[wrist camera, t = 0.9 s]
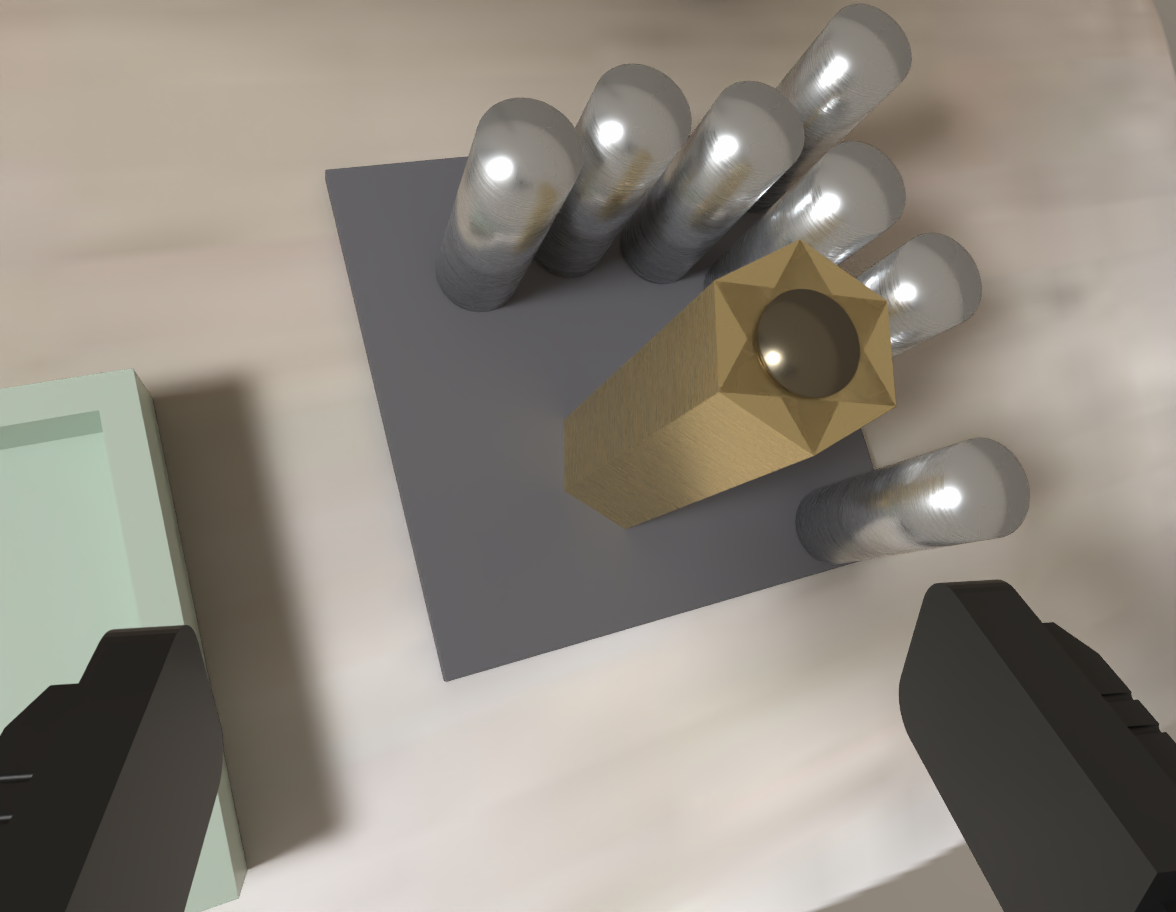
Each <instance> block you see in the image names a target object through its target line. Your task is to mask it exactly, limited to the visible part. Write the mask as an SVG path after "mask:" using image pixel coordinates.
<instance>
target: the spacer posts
mask: <svg viewBox="0 0 1176 912" xmlns="http://www.w3.org/2000/svg"><path fill="white" fill-rule="evenodd" d="M911 60H912V58H911V49H910V45H909V42H908V40H907V37H906V35H905V33H904V32H903V30H902V29H901V27H900V26H899V25H898V24H897V22H896V21H895V20H894V19H893V18H891V17H890V16H889V15H888V14H886V13H885V12H883V11H882V10H880V9H878V8H876V7H873V6H870V5H865V4H853V5H849V6H846V7H844V8H843V9H841V10H840V11H839V12H838V13H837V14H836V15H835V16H834V18H833V19H832V20H831V21H830V22H829V24H828V25H827V26H826V27H825V29H824V30H823V31H822V32H821V34H820V35H819V36H818V37H817V38H816V40H815V41H814V42H813V43H812V45H811V46H810V47H809V48H808V49H807V51H806V52H805V53H804V54H803V56H802V57H801V58H800V59H799V60H798V62H797V63H796V64H795V65H794V67H793V68H792V69H791V70H790V71H789V73H788V74H787V75H786V76H785V78H784V79H783V80H782V81H781V82H780V84H779V85H778V86H777V87H776V89H775V88H773V87H771V86H769V85H766V84H764V83H760V82H755V81H743V82H738V83H735V84H733V85H731V86H729V87H728V88H726V89H725V90H724V91H723V92H722V93H721V94H720V96H719V97H718V98H717V100H716V101H715V103H714V104H713V105H712V107H711V108H710V109H709V111H708V112H707V114H706V115H705V116H704V118H703V119H702V120H701V122H700V123H699V125H698V126H697V127H696V129H695V130H694V131H693V133H692V134H691V136H690V137H689V138H688V136H689V133H690V130H691V112H690V108H689V105H688V102H687V100H686V98H685V96H684V94H683V93H682V91H681V90H680V88H679V87H678V86H677V85H676V84H675V83H674V82H673V81H672V80H671V79H670V78H669V77H668V76H666V75H665V74H663V73H662V72H660V71H658V70H656V69H654V68H651V67H649V66H645V65H640V64H624V65H620V66H617V67H615V68H612V69H611V70H609V71H608V72H606V73H605V74H604V75H603V76H602V77H601V79H600V80H599V81H598V83H597V85H596V87H595V89H594V91H593V93H592V95H591V97H590V99H589V101H588V103H587V105H586V107H585V109H584V111H583V113H582V115H581V117H580V119H579V121H578V123H577V125H576V127H575V128H574V126H573V125H572V123H571V122H570V121H569V120H568V119H567V118H566V117H565V116H564V115H563V114H562V113H561V112H560V111H558V110H557V109H556V108H554V107H552V106H551V105H549V104H547V103H544V102H542V101H539V100H535V99H531V98H512V99H507V100H504V101H501V102H499V103H497V104H495V105H494V106H492V107H491V108H490V109H489V110H488V111H487V112H486V113H485V114H484V115H483V117H482V118H481V120H480V122H479V125H478V127H477V130H476V134H475V137H474V140H473V143H472V147H471V150H470V153H469V156H468V160H467V163H466V166H465V169H464V173H463V176H462V179H461V182H460V186H459V189H458V192H457V195H456V199H455V202H454V205H453V208H452V212H451V215H450V218H449V221H448V225H447V228H446V231H445V234H444V238H443V241H442V244H441V247H440V251H439V254H438V257H437V261H436V267H435V273H436V279H437V282H438V285H439V287H440V289H441V291H442V292H443V294H444V295H445V296H446V297H447V298H448V299H449V300H450V301H451V302H452V303H453V304H455V305H456V306H458V307H460V308H462V309H464V310H467V311H471V312H481V313H482V312H489V311H493V310H496V309H498V308H500V307H502V306H503V305H505V304H506V303H507V302H508V301H509V300H510V298H511V297H512V296H513V294H514V292H515V290H516V288H517V287H518V285H519V283H520V281H521V279H522V277H523V276H524V274H525V272H526V270H527V268H528V267H529V265H530V263H531V261H532V259H534V261H535V262H536V263H537V264H538V265H539V266H540V267H541V268H543V269H544V270H545V271H547V272H549V273H550V274H553V275H555V276H558V277H563V278H575V277H580V276H582V275H585V274H587V273H588V272H590V271H591V270H592V269H593V268H594V267H595V266H596V265H597V263H598V262H599V260H600V259H601V258H602V256H603V255H604V254H605V252H606V251H607V249H608V248H609V247H610V245H611V244H612V243H613V241H614V240H615V238H616V237H617V236H618V234H619V233H620V232H621V230H622V229H623V230H622V233H621V237H620V249H621V254H622V256H623V259H624V261H625V263H626V264H627V266H628V267H629V269H630V270H631V271H632V272H633V273H634V274H635V275H637V276H638V277H639V278H641V279H642V280H644V281H647V282H649V283H652V284H659V285H664V284H670V283H673V282H676V281H677V280H679V279H680V278H682V277H683V276H684V275H685V274H686V273H687V272H688V271H689V270H690V269H691V268H692V267H693V266H694V265H695V264H696V263H697V262H698V261H699V260H700V259H701V258H702V257H703V255H704V254H705V253H706V252H707V251H708V250H709V249H710V248H711V247H712V246H713V245H714V244H715V243H716V242H717V241H718V240H719V239H720V238H721V237H722V236H723V235H724V234H725V233H726V232H727V231H728V230H729V229H730V228H731V227H732V226H733V225H734V224H735V223H736V222H737V221H738V220H739V219H740V218H741V217H742V216H743V215H744V214H745V213H746V212H752V213H759V212H764V211H767V210H768V211H767V212H766V213H764V214H763V215H762V216H761V217H760V218H759V219H758V220H757V221H756V222H755V223H754V224H753V225H752V226H751V227H750V228H749V229H748V230H747V231H746V232H745V233H744V234H743V235H742V236H741V237H740V238H739V239H738V240H737V241H736V242H735V243H734V244H733V245H732V246H731V247H730V248H729V249H728V250H727V251H725V252H724V253H723V254H722V255H721V256H720V257H719V258H718V259H717V260H716V261H715V262H714V263H713V264H712V265H711V266H710V268H709V269H708V271H707V273H706V275H705V278H704V287H703V288H704V290H705V289H706V288H707V287H708V286H709V285H710V284H711V283H712V282H713V281H714V280H716V279H719V278H721V277H723V276H725V275H727V274H729V273H731V272H733V271H735V270H737V269H739V268H741V267H743V266H746V265H748V264H750V263H752V262H754V261H756V260H758V259H760V258H762V257H764V256H766V255H768V254H770V253H773V252H775V251H777V250H779V249H781V248H783V247H785V246H787V245H789V244H791V243H793V242H795V241H797V240H800V239H801V240H802V241H803V242H805V243H806V244H808V245H809V246H810V247H812V248H813V249H815V250H816V251H817V252H819V253H820V254H822V255H823V256H824V257H826V258H827V259H829V260H830V261H832V262H833V263H834V264H836V265H837V266H838V265H839V264H841V263H842V262H843V261H845V260H846V259H847V258H849V257H850V256H851V255H853V254H854V253H855V252H857V251H858V250H860V249H861V248H862V247H864V246H865V245H866V244H868V243H869V242H870V241H872V240H873V239H874V238H876V237H877V236H879V235H880V234H881V233H883V232H884V231H885V230H887V229H888V228H889V227H891V226H892V225H893V224H894V223H896V221H897V220H898V219H899V218H900V216H901V214H902V212H903V209H904V205H905V188H904V184H903V180H902V178H901V175H900V173H899V171H898V169H897V168H896V166H895V165H894V164H893V162H892V161H891V160H890V159H889V158H888V157H887V156H886V155H885V154H884V153H883V152H881V151H880V150H879V149H877V148H875V147H873V146H871V145H869V144H866V143H863V142H858V141H847V142H843V143H840V144H838V143H839V142H840V141H841V140H842V139H843V138H844V137H845V136H846V135H847V134H848V133H849V132H850V131H851V130H852V129H853V128H854V127H855V126H856V125H857V124H859V123H860V122H861V121H862V120H863V119H864V118H865V117H866V116H867V115H868V114H869V113H870V112H871V111H872V110H873V109H874V108H875V107H876V106H877V105H878V104H879V103H880V102H881V101H882V100H883V99H884V98H885V97H886V96H887V95H888V94H889V93H890V92H891V91H892V90H894V89H895V88H896V87H897V86H898V85H899V84H900V83H901V82H902V81H903V80H904V79H905V77H906V76H907V74H908V72H909V70H910V67H911ZM687 138H688V140H687ZM686 140H687V141H686ZM684 143H685V144H684ZM837 144H838V145H837ZM682 146H683V147H682ZM679 150H680V151H679ZM676 154H677V155H676ZM674 157H675V158H674ZM671 161H672V162H671ZM668 165H669V166H668ZM666 168H667V169H666ZM663 172H664V173H663ZM660 176H661V177H660ZM658 179H659V180H658ZM655 183H656V184H655ZM650 190H651V191H650ZM647 194H648V195H647ZM645 197H646V198H645ZM642 201H643V202H642ZM639 205H640V206H639ZM637 208H638V209H637ZM634 212H635V213H634ZM631 216H632V217H631ZM629 219H630V220H629ZM626 223H627V224H626ZM623 227H624V228H623ZM855 279H857V280H858V281H860V282H861V283H862V284H864V285H865V286H867V287H868V288H870V289H871V290H872V291H874V292H875V293H877V294H878V295H879V296H881V297H882V298H884V299H885V300H886V301H887V303H888V315H889V327H890V338H891V350H892V358H893V357H895V356H897V355H899V354H901V353H903V352H905V351H906V350H908V349H910V348H912V347H914V346H916V345H918V344H920V343H922V342H924V341H926V340H928V339H930V338H932V337H934V336H936V335H938V334H940V333H942V332H944V331H946V330H948V329H950V328H952V327H954V326H956V325H958V324H960V323H962V322H964V321H966V320H967V319H968V318H970V317H971V316H972V315H973V314H974V312H975V311H976V309H977V307H978V305H979V302H980V299H981V292H982V287H981V279H980V275H979V271H978V269H977V266H976V264H975V262H974V260H973V259H972V257H971V256H970V255H969V253H968V252H967V251H966V250H965V249H964V248H963V247H962V246H961V245H960V244H959V243H958V242H956V241H955V240H953V239H951V238H949V237H947V236H945V235H942V234H937V233H925V234H921V235H918V236H916V237H914V238H913V239H911V240H910V241H908V242H907V243H905V244H904V245H903V246H901V247H900V248H898V249H897V250H895V251H894V252H892V253H891V254H889V255H888V256H887V257H885V258H884V259H882V260H881V261H879V262H878V263H876V264H875V265H874V266H872V267H871V268H869V269H868V270H866V271H865V272H863V273H862V274H860V275H859V276H858V277H856V278H855ZM1029 498H1030V495H1029V486H1028V481H1027V477H1026V475H1025V472H1024V470H1023V468H1022V466H1021V464H1020V463H1019V461H1018V460H1017V458H1016V457H1015V456H1014V455H1013V453H1012V452H1011V451H1010V450H1008V449H1007V448H1006V447H1005V446H1003V445H1002V444H1000V443H998V442H996V441H994V440H991V439H986V438H974V439H970V440H967V441H963V442H960V443H957V444H954V445H951V446H948V447H945V448H942V449H939V450H935V451H932V452H929V453H926V454H923V455H920V456H917V457H914V458H911V459H907V460H904V461H901V462H898V463H895V464H892V465H889V466H886V467H883V468H879V469H876V470H873V471H870V472H867V473H864V474H861V475H858V476H855V477H852V478H848V479H845V480H842V481H839V482H836V483H833V484H830V485H827V486H824V487H820V488H817V489H814V490H813V491H811V492H809V493H808V494H807V495H806V496H805V497H804V498H803V499H802V500H801V502H800V504H799V506H798V508H797V512H796V517H795V527H796V532H797V536H798V539H799V541H800V543H801V545H802V546H803V548H804V549H805V550H806V552H807V553H808V554H809V555H810V556H812V557H813V558H814V559H816V560H818V561H820V562H822V563H825V564H832V565H834V564H842V563H848V562H854V561H860V560H866V559H872V558H879V557H885V556H891V555H897V554H903V553H909V552H915V551H921V550H927V549H934V548H940V547H946V546H952V545H958V544H964V543H970V542H976V541H982V540H989V539H995V538H1000V537H1004V536H1007V535H1009V534H1011V533H1013V532H1014V531H1015V530H1016V529H1017V528H1018V527H1019V526H1020V525H1021V524H1022V522H1023V520H1024V519H1025V516H1026V514H1027V511H1028V507H1029Z"/></svg>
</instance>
